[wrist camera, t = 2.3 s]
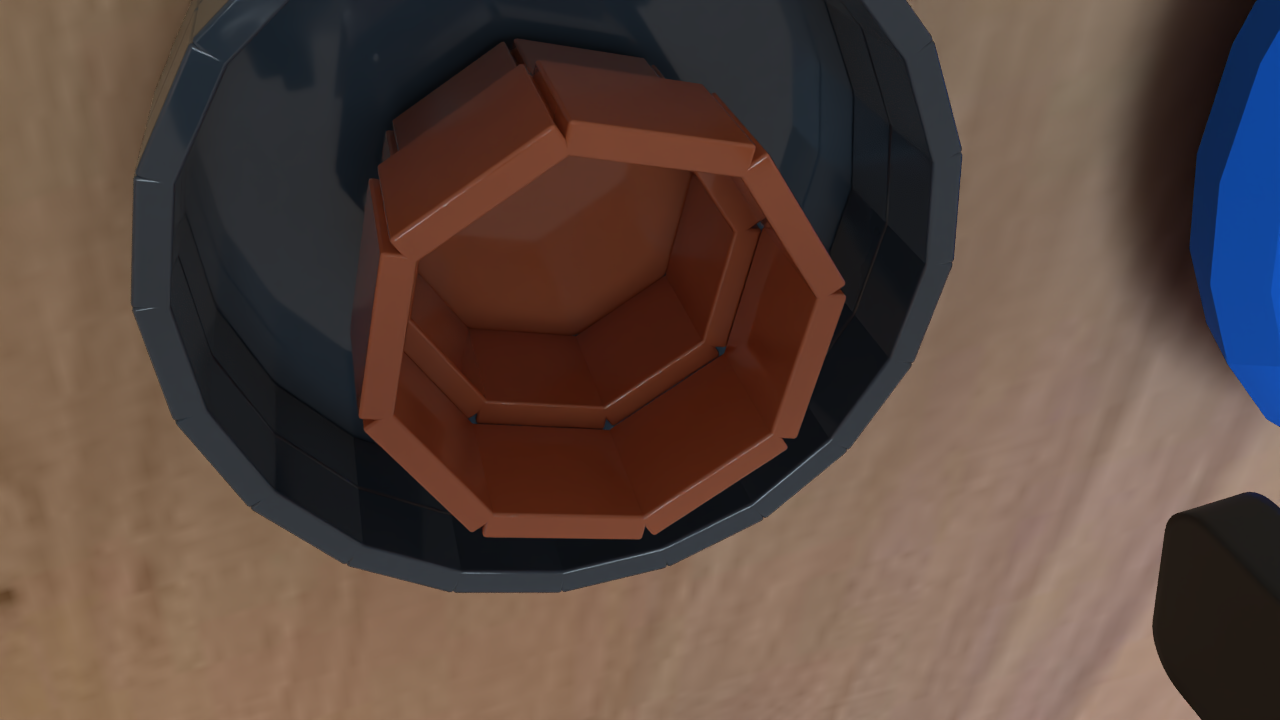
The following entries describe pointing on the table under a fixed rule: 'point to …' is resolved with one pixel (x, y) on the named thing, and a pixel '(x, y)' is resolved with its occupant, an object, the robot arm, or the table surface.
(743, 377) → the terracotta bowl
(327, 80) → the slate bowl
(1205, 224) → the blue dish
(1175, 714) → the table surface
